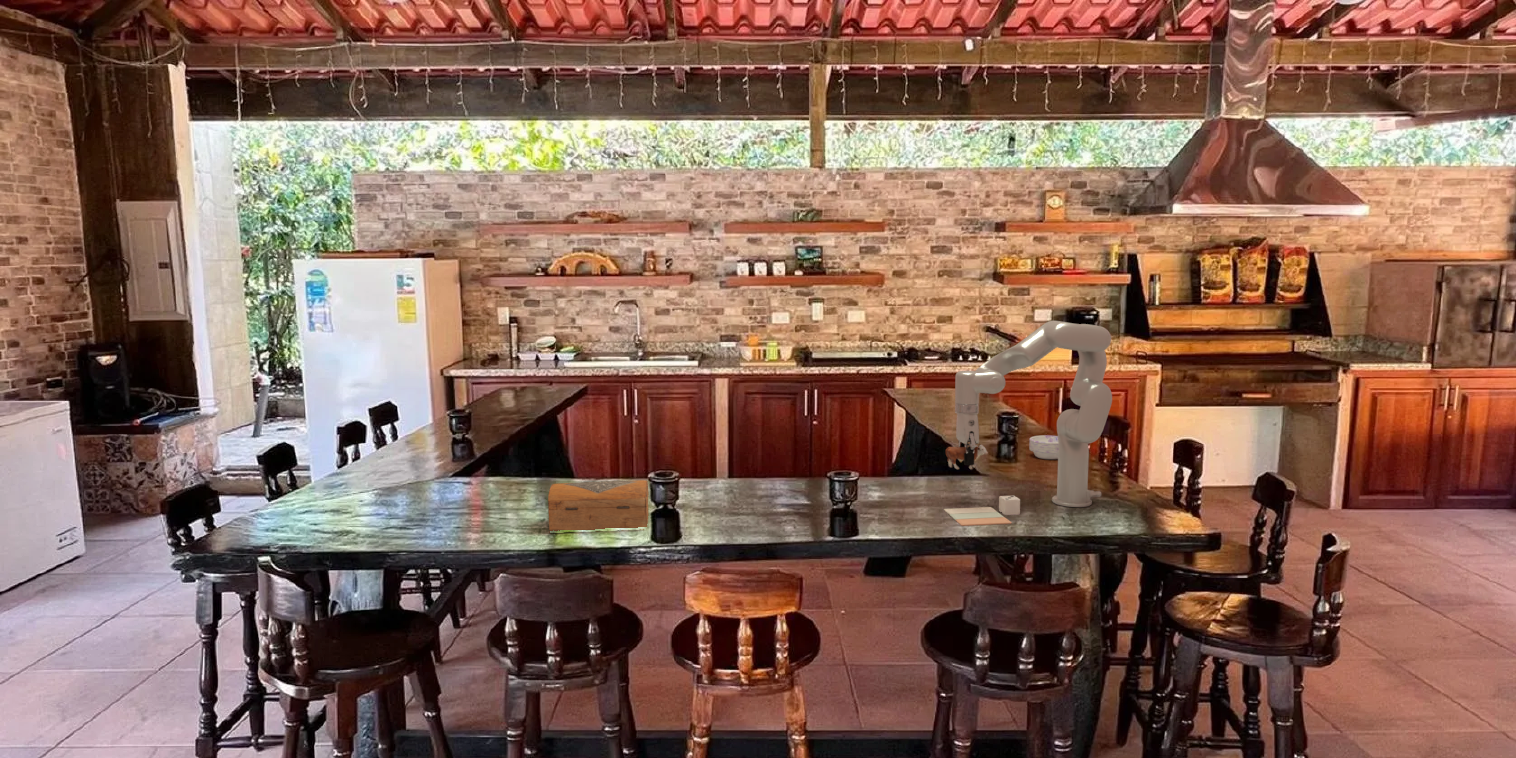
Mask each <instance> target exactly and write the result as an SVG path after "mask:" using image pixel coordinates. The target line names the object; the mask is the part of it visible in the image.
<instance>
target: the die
mask: <svg viewBox="0 0 1516 758" xmlns="http://www.w3.org/2000/svg"><path fill="white" fill-rule="evenodd" d="M998 497H999V498H998V511H999V512H1000V513H1001V512H1002V513H1001V514H1002V515H1004V516H1012V515H1013V516H1016V515H1017V516H1018V515H1020V513H1021V510H1020V509H1021V499H1020V498H1019V497H1017V496H1015V495H1000V496H998Z"/></svg>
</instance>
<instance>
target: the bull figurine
mask: <svg viewBox="0 0 1516 758" xmlns="http://www.w3.org/2000/svg"><path fill="white" fill-rule="evenodd" d="M975 445H976V446H975V449H974V462H976V461H978V459H980V457H981V456H983V455H988V453H989V451H987V449H986V447H985V446H984V445H983V444H980V445H978V444H975ZM964 453H965V447H959V446H948V447H946V449H945V455H946V457H947V459H946V460H947V462H948V463H947V464H948V467H949V468H953V467H954V469H956V470H960V467H959V466H958V465H957V463H956V462H957V460H958V461H959V463H962V462H964V461H963V460H964ZM968 468H969V469H970V470H973V469H974V468H977V466H976V465H975V463H974V465H968Z"/></svg>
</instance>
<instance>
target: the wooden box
mask: <svg viewBox="0 0 1516 758" xmlns="http://www.w3.org/2000/svg"><path fill="white" fill-rule="evenodd" d="M548 490H549V491H548V494H547V495H548V497H547V499H548V500H547V508H548V510H547V511H548V526H549V527H548V531H549V530H550V531H553V530H554V531H558V530H559V531H560V530H595V529H605V528H638V527H647V528H648V525H647V524H648V523H649V517H648V516H650V515H649V493H650V492H649V483H648V480H645V479H644V480H643V479H642V480H641V479H640V480H639V479H638V480H607V481H604V480H603V481H583V482H582V481H581V482H566V483H565V482H564V483H563V482H562V483H561V482H560V483H552V484H551V485H550V488H549V489H548ZM550 531H549V532H550Z"/></svg>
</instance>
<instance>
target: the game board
mask: <svg viewBox="0 0 1516 758" xmlns="http://www.w3.org/2000/svg"><path fill="white" fill-rule="evenodd" d="M943 511H944V512H945V513H946V514H947V515H949V517H951V518H952V519H953V520H954V521H956V523H958V525H960V526H961V527H965V526H966V527H969V526H989V525H990V526H991V525H1011V524H1012V523H1013V522H1012V521H1010V520H1009V519H1008V518H1006V517H1005V515H1004V516H1003V514H1002V513H1001V512H1000V513H999V512H998V510H996V509H994V508H993V507H991V506H981V507H979V506H978V507H960V508H959V507H958V508H957V507H956V508H943Z"/></svg>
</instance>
